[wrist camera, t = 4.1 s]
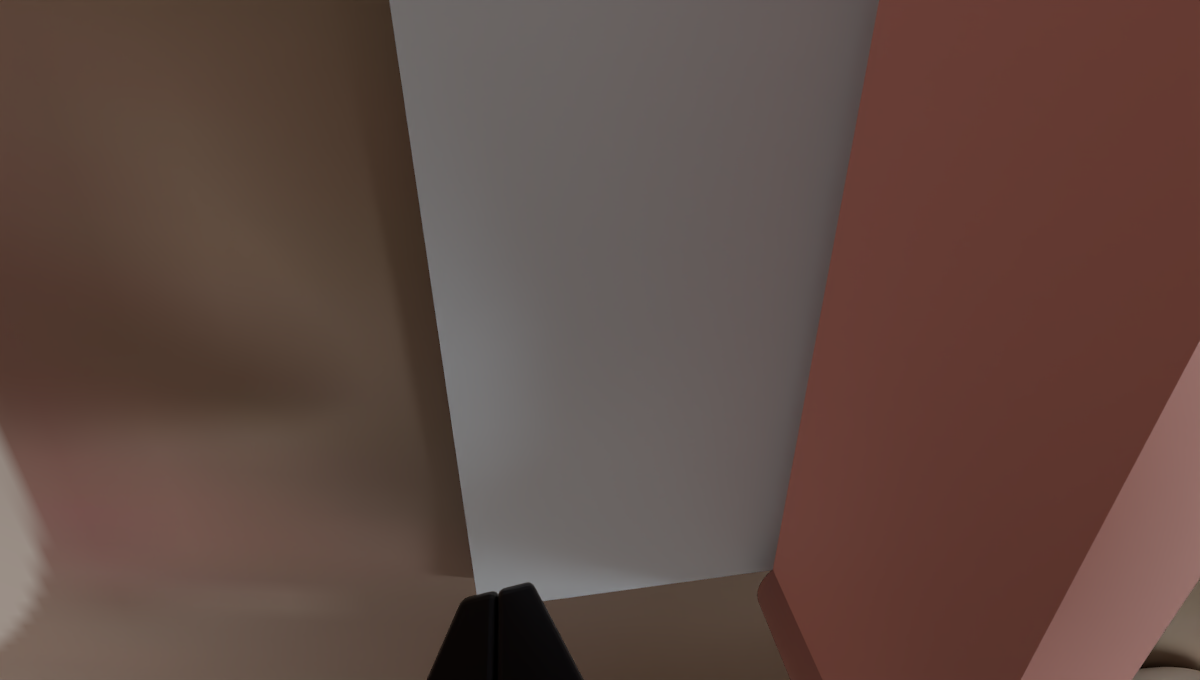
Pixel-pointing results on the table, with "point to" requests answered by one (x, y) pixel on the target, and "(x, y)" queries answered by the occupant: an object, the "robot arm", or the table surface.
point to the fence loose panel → (1004, 353)
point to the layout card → (628, 268)
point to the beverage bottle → (1167, 674)
